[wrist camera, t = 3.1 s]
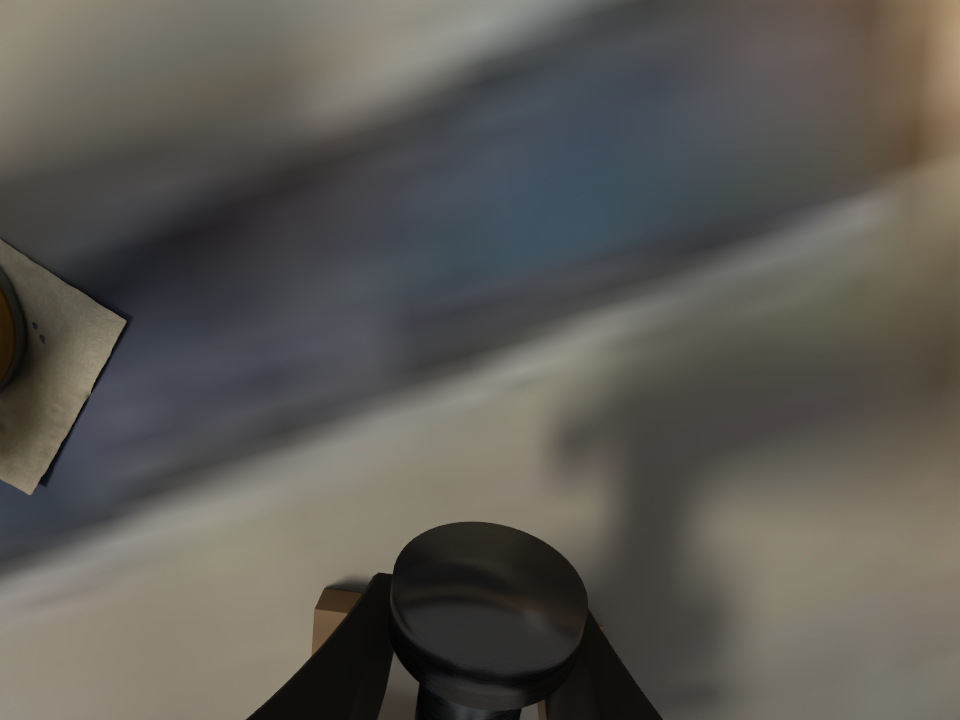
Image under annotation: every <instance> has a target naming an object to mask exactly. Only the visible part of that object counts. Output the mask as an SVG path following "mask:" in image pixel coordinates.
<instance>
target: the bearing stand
mask: <svg viewBox="0 0 960 720" xmlns="http://www.w3.org/2000/svg"><path fill="white" fill-rule="evenodd" d="M362 594H363V593H357V592H350V591H342V590H335V589H327V588H324V590H323V592H322V594H321V596H320V599H319V601H318V603H317V605H316V607H315V612H314V627H313V642H312V655H313V654H314V653H315V652H316V651H317V650H318V649H319V648H320V647H321V645H322V644H323V643H324V642H325V641H326V640H327V639H328V637H329V636H330V635H331V634H332V633H333V631H334V630H335V629H336V628H337V626H338V625H339V624H340V623H341V622H342V620H343V619H344V618H345V617H346V615H347V614H348V613H349V611H350V610H351V609H352V607H353V606H354V605H355V603H356V602H357V601H358V599H359V598H360V597H361V595H362ZM599 627H600V628H601V630H602V632H603V633H604V631H603V628H602V626H599ZM418 688H419V682H418V681H417V680H415V679H414V678H413V677H412V676H411V675H410V673H409V672H408V671H407V670H406V669H405V668H404V666H403V665H402V664H401V662H400V661H399V659H398V657H397V656H396V654H395V652H394V654H393V659H392V664H391V669H390V674H389V678H388V683H387V688H386V692H385V696H384V699H383V702H382V706H381V709H380V712H379V715H378V719H377V720H414V717H415V710H416V703H417V695H418ZM520 720H547V718H546V711H545V699H544V700H542V701H540V702H538V703H536V704H533V705H530V706H527V707H524V708H522V711H521V716H520Z"/></svg>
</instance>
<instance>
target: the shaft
mask: <svg viewBox="0 0 960 720" xmlns="http://www.w3.org/2000/svg"><path fill="white" fill-rule="evenodd" d="M587 612H588V599H587V593H586V590H585V587H584V584H583V582H582V580H581V578H580V576H579V574H578V573H577V572H576V570H575V569H574V567H573V566H572V565H571V564H570V563H569V561H568V560H567V559H566V558H565V557H564V556H562V555H561V554H560V553H559V552H558V551H557V550H555V549H554V548H553V547H551V546H550V545H548V544H547V543H545V542H544V541H542V540H540V539H538V538H536V537H534V536H532V535H530V534H528V533H525V532H523V531H520V530H517V529H514V528H511V527H507V526H504V525H499V524H493V523H485V522H458V523H451V524H446V525H442V526H438V527H436V528H433V529H430V530H428V531H426V532H424V533H422V534H420V535H419V536H417V537H415V538H414V539H413V540H412V541H410V542H409V543H408V544H407V545H406V546H405V547H404V549H403V550H402V551H401V553H400V554H399V556H398V558H397V560H396V563H395V565H394V570H393V576H392V585H391V594H390V602H389V611H388V633H389V638H390V641H391V644H392V647H393V650H394V652H395V654H396V656H397V657H398V659H399V661H400V662H401V664H402V665H403V666H404V668H405V669H406V670H407V671H408V672H409V673H410V675H411V676H412V677H413V678H414V679H415V680H417V681H418V682H419V688H418V695H417V703H416V710H415V717H414V720H520V716H521V711H522V708H524V707H527V706H530V705H533V704H536V703H538V702H540V701H542V700H544V699H546V698H548V697H549V696H551V695H552V694H553V693H555V692H556V691H557V690H558V689H559V688H560V687H561V686H562V685H563V684H564V683H565V682H566V680H567V679H568V677H569V676H570V674H571V673H572V670H573V668H574V665H575V662H576V658H577V654H578V650H579V646H580V642H581V638H582V633H583V629H584V625H585V621H586V616H587Z"/></svg>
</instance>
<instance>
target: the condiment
mask: <svg viewBox="0 0 960 720" xmlns="http://www.w3.org/2000/svg"><path fill="white" fill-rule="evenodd" d="M33 322H34V323H36V324H37V329H34V328H33V325H32V323H33ZM126 322H127V321H126V320H124V319H123V318H121V317H120V316H118V315H116V314H115V313H113V312H112V311H110V310H108V309H106V308H104V307H103V306H101V305H100V304H98V303H97V302H95V301H94V300H92V299H91V298H90V297H89V296H87V295H86V294H84V293H82V292H81V291H79V290H78V289H76V288H73V287H71V286H70V285H68V284H66V283H65V282H63V281H62V280H60V279H59V278H58V277H56V276H55V275H53V274H52V273H50V272H49V271H47V270H46V269H45V268H43V267H41V266H39V265H37V264H36V263H34V262H32V261H31V260H29V259H28V258H27V257H26V256H25V255H23V254H22V253H20V252H18V251H16V250H15V249H13V248H12V247H11V246H10V245H8V244H6V243H5V242H3V241H2V240H1V239H0V479H1V480H2V481H4V482H7V483H9V484H11V485H13V486H15V487H17V488H18V489H20V490H22V491H23V492H25V493H27V494H29V495H31V494H32V493H33V491H34V489H35V488H36V486H37V484H38V482H39V480H40V478H41V477H42V476H43V475H44V473H45V472H46V471H47V469H48V467H49V465H50V463H51V461H52V460H53V458H54V456H55V454H56V453H57V451H58V449H59V447H60V445H61V442H62V441H63V440H64V438H65V437H66V436H67V434H68V432H69V430H70V428H71V426H72V424H73V423H74V421H75V419H76V417H77V415H78V413H79V411H80V409H81V407H82V405H83V404H84V402H85V401H86V399H87V398H89V395H90V394H91V389H92V387H93V384H94V382H95V380H96V378H97V376H98V374H99V372H100V371H101V369H102V367H103V366H104V364H105V363H106V361H107V359H108V357H109V356H110V354H111V351H112V348H113V346H114V344H115V342H116V340H117V338H118V336H119V335H120V333H121V331H122V329H123V327H124V325H125V324H126ZM39 335H43V336H44V338H45V343H44V344H43V343H42V341H41V340H40V337H39Z"/></svg>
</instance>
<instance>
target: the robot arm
mask: <svg viewBox="0 0 960 720" xmlns="http://www.w3.org/2000/svg"><path fill="white" fill-rule="evenodd" d="M392 576H393V574H386V573H377V574H376V575H374V576H373V578H372V580H371V581H370V583H369V585H368V586H367V588H366V589H365V591H364V592H363V594H362V595H361V597H360V598H359V599H358V601H357V602H356V603H355V605H354V606H353V607H352V609H351V610H350V611H349V613H348V614H347V615H346V617H345V618H344V619H343V620H342V622H341V623H340V624H339V625H338V626H337V628H336V629H335V630H334V631H333V633H332V634H331V635H330V636H329V637H328V639H327V640H326V641H325V642H324V643H323V644H322V645H321V647H320V648H319V649H318V650H317V651H316V652H315V653H314V654H313V655H312V656H311V658H310V659H309V660H308V661H307V662H306V663H305V664H304V665H303V666H302V667H301V668H300V669H299V671H298V672H297V673H296V674H295V675H294V676H293V677H292V678H291V679H290V680H289V681H288V682H287V683H286V684H285V685H284V686H283V687H281V688H280V689H279V690H278V691H277V692H276V693H275V694H274V695H273V696H272V697H271V698H270V699H269V700H268V701H267V702H266V703H264V704H263V705H262V706H261V707H260V708H259V709H258V710H256V711H255V712H254V713H253V714H252V715H251V716H250V717H248V718H247V719H246V720H377V719H378V715H379V712H380V709H381V706H382V702H383V699H384V696H385V692H386V688H387V683H388V678H389V674H390V669H391V664H392V659H393V654H394V650H393V647H392V644H391V641H390V638H389V633H388V611H389V602H390V594H391V585H392ZM545 711H546V718H547V720H663V719H662V718H661V716H660V715H659V714H658V712H657V711H656V710H655V708H654V707H653V706H652V704H651V703H650V702H649V700H648V699H647V698H646V696H645V695H644V693H643V692H642V691H641V689H640V688H639V686H638V685H637V684H636V682H635V681H634V679H633V678H632V676H631V675H630V673H629V672H628V670H627V669H626V667H625V666H624V664H623V663H622V661H621V660H620V658H619V657H618V655H617V654H616V652H615V651H614V649H613V648H612V646H611V644H610V643H609V641H608V640H607V638H606V637H605V635H604V633H603V632H602V630H601V628H600V627H599V625H598V624H597V622H596V620H595V619H594V617H593V615H592V614H591V612H590V610H589V609H588V612H587V616H586V621H585V625H584V629H583V633H582V638H581V642H580V646H579V650H578V654H577V658H576V662H575V665H574V668H573V670H572V673H571V674H570V676H569V677H568V679H567V680H566V682H565V683H564V684H563V685H562V686H561V687H560V688H559V689H558V690H557V691H556V692H555V693H553V694H552V695H551V696H549V697H548V698H546V699H545Z"/></svg>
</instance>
